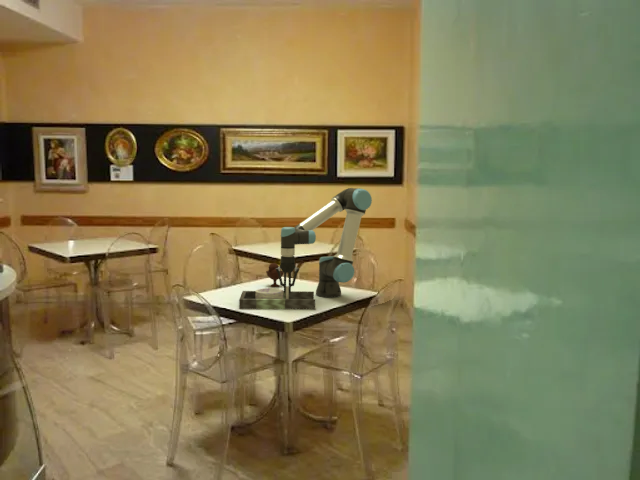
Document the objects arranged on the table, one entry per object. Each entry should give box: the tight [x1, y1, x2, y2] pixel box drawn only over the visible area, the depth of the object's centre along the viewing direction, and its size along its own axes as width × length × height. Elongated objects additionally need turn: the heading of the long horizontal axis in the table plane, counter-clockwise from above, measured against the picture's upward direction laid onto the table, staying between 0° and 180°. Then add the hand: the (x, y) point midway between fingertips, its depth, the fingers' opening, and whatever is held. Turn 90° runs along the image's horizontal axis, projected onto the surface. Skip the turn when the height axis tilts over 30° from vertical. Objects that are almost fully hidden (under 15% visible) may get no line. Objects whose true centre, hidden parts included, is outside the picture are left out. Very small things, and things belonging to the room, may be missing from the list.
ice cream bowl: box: [266, 262, 284, 288], centre depth 363 cm, size 11×11×15 cm
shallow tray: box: [238, 290, 316, 310], centre depth 314 cm, size 40×22×5 cm, turn 93°
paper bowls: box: [254, 287, 284, 299], centre depth 313 cm, size 15×15×8 cm
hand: (287, 298), depth 314 cm, fingers closed
